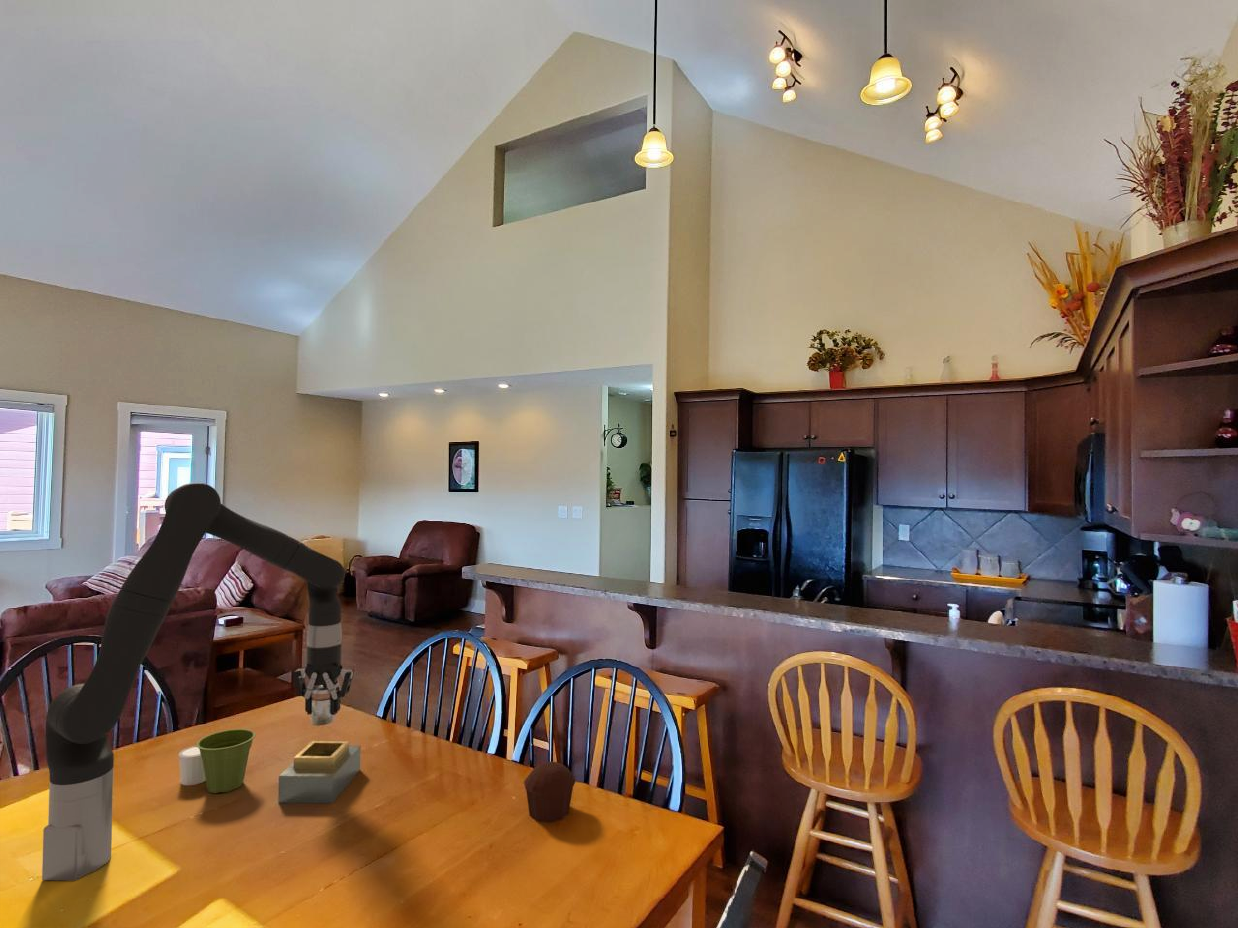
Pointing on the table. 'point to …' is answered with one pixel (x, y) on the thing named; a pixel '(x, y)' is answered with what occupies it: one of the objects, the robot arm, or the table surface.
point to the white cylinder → (191, 766)
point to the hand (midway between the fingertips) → (322, 713)
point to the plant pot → (225, 758)
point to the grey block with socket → (319, 772)
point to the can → (321, 706)
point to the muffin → (549, 791)
